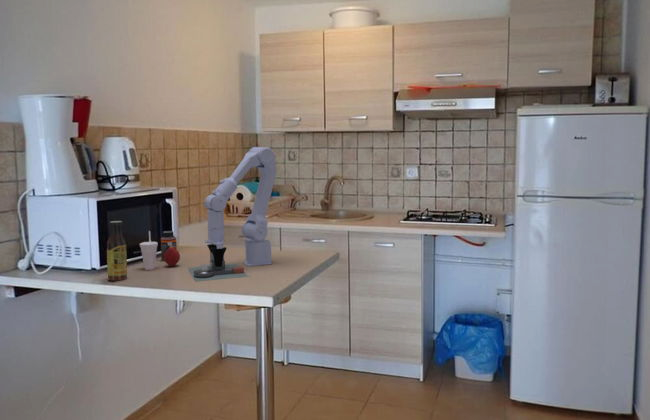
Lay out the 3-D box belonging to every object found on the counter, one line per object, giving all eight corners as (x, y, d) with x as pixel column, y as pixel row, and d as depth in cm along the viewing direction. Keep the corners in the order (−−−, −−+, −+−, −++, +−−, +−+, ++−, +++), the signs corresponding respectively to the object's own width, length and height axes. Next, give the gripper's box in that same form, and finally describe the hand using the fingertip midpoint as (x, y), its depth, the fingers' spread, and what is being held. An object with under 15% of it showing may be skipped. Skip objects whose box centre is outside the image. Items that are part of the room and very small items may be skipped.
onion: (175, 268, 208) (174, 247, 207) (161, 268, 209) (160, 246, 208) (182, 265, 214) (182, 244, 213) (168, 264, 215) (167, 244, 214)
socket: (223, 266, 209) (222, 250, 208) (225, 269, 205) (225, 253, 204) (209, 267, 208) (208, 251, 207) (211, 270, 203) (211, 254, 202)
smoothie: (162, 268, 208) (160, 231, 206) (146, 272, 203) (144, 233, 201) (153, 266, 212) (151, 229, 210) (137, 269, 208) (135, 231, 206)
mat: (236, 264, 214) (236, 263, 214) (248, 277, 194) (248, 276, 194) (187, 268, 208) (187, 267, 208) (195, 282, 188) (195, 281, 188)
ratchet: (195, 279, 191) (194, 267, 191) (192, 274, 198) (192, 263, 197) (245, 274, 197) (245, 263, 196) (241, 270, 203) (240, 259, 203)
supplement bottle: (174, 261, 220) (173, 232, 219) (159, 261, 221) (158, 232, 219) (178, 258, 226) (177, 230, 225) (164, 258, 226) (162, 230, 225)
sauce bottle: (116, 282, 188) (112, 223, 186) (103, 280, 192) (100, 222, 189) (132, 278, 194) (128, 220, 191) (120, 276, 197) (116, 219, 195)
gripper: (201, 225, 210) (203, 261, 211) (207, 231, 196) (209, 270, 198) (221, 224, 212) (222, 260, 214) (228, 230, 198) (229, 268, 200)
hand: (217, 265), depth 206 cm, fingers closed on socket, 5 cm apart
